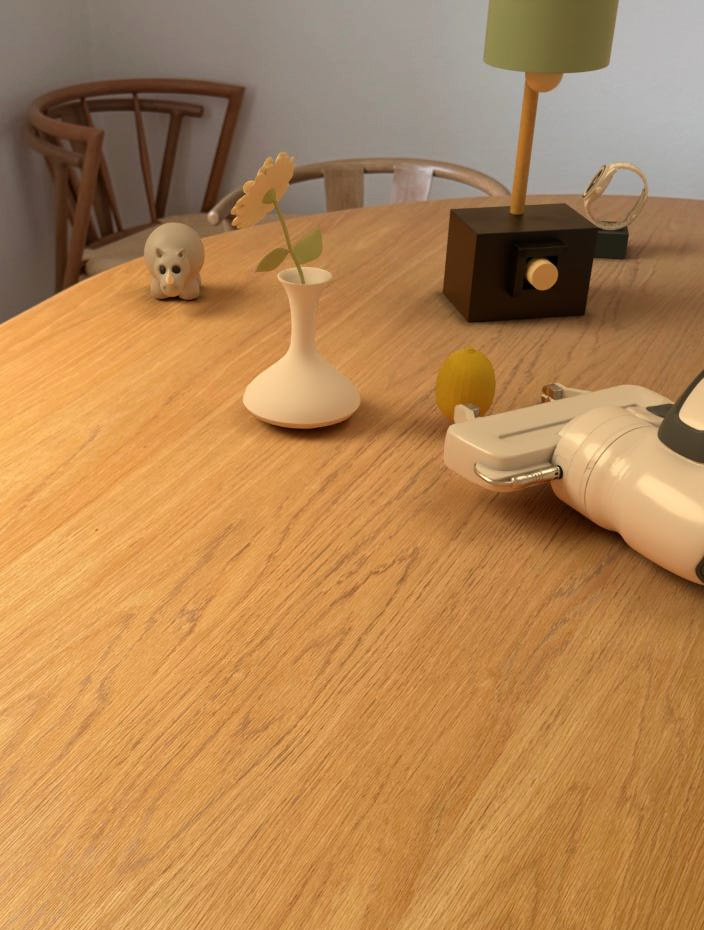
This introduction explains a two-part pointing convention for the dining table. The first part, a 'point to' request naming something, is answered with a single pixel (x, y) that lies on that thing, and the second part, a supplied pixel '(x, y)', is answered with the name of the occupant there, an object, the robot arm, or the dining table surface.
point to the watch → (610, 233)
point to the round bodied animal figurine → (174, 261)
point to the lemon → (465, 382)
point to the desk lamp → (528, 226)
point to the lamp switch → (541, 273)
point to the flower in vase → (294, 321)
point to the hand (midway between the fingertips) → (505, 401)
